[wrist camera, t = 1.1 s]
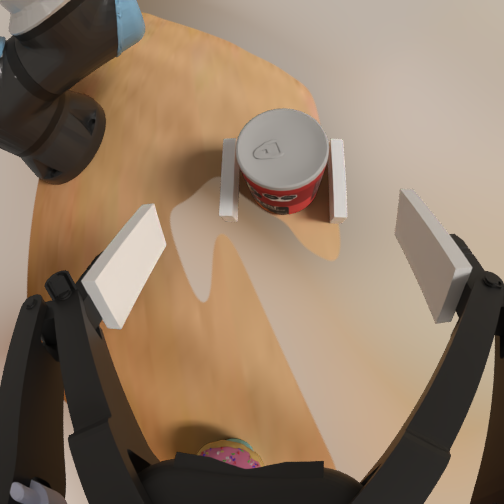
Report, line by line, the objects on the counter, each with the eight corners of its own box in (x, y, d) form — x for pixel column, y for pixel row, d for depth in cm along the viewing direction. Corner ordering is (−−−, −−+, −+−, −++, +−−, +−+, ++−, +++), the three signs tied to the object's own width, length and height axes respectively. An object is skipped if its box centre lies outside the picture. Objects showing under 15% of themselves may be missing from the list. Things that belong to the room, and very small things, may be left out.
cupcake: (281, 450, 32) (276, 510, 20) (241, 484, 32) (225, 541, 20) (227, 414, 33) (202, 466, 21) (190, 451, 33) (158, 502, 21)
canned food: (238, 178, 35) (217, 139, 24) (292, 143, 35) (292, 93, 24) (275, 230, 34) (269, 208, 23) (330, 191, 34) (348, 155, 23)
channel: (341, 223, 34) (347, 217, 30) (225, 221, 35) (218, 215, 32) (338, 151, 34) (342, 139, 31) (229, 150, 36) (223, 138, 32)
